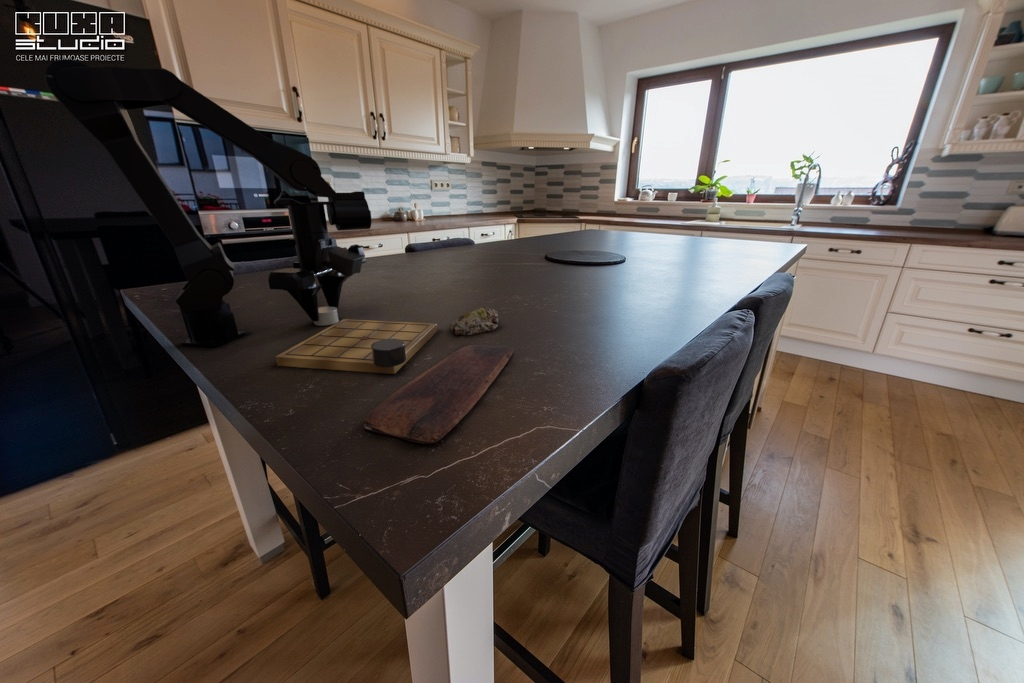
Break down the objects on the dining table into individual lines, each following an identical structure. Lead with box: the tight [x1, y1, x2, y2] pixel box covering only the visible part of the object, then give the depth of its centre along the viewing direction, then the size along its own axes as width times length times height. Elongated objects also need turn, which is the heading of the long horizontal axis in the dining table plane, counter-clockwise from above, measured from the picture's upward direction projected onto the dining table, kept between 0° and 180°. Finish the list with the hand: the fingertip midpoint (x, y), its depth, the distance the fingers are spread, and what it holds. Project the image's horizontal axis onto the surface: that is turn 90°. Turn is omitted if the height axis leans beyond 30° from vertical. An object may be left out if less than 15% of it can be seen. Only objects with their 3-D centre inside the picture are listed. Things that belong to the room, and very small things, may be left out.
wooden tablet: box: [362, 344, 514, 445], centre depth 51 cm, size 26×2×10 cm
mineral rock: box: [450, 307, 500, 336], centre depth 73 cm, size 11×4×8 cm
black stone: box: [371, 339, 406, 367], centre depth 55 cm, size 4×4×2 cm
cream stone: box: [313, 306, 340, 326], centre depth 76 cm, size 4×4×2 cm
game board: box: [275, 318, 438, 375], centre depth 64 cm, size 18×18×2 cm
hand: (325, 316), depth 76 cm, fingers open, 6 cm apart
